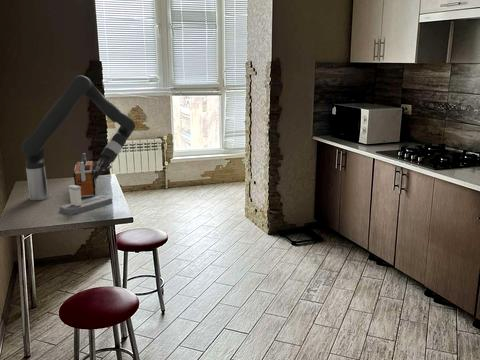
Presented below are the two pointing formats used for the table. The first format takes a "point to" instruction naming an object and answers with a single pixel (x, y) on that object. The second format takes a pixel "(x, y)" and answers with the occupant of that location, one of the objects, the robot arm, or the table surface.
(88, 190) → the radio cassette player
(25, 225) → the table surface
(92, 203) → the fader console
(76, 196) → the fader tab
